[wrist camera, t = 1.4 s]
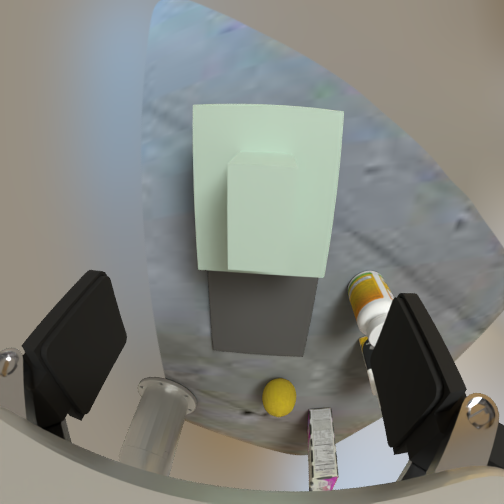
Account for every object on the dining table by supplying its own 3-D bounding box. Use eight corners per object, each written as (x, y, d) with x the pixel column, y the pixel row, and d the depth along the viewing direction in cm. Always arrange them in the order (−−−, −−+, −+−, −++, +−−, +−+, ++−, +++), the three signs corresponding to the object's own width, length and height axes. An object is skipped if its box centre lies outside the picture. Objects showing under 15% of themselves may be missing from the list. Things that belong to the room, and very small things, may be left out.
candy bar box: (328, 429, 54) (332, 491, 40) (306, 431, 55) (307, 493, 40) (332, 406, 50) (339, 477, 35) (308, 408, 50) (310, 480, 36)
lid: (321, 265, 28) (333, 320, 20) (203, 258, 28) (179, 308, 21) (338, 112, 21) (367, 110, 14) (200, 105, 22) (164, 102, 14)
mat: (302, 353, 43) (303, 356, 42) (214, 346, 44) (213, 350, 43) (321, 250, 35) (322, 253, 34) (207, 243, 35) (206, 246, 35)
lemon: (302, 378, 46) (303, 415, 39) (280, 391, 48) (279, 427, 41) (279, 364, 44) (277, 403, 37) (257, 378, 47) (253, 416, 39)
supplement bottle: (341, 299, 38) (354, 349, 29) (355, 265, 35) (375, 313, 27) (374, 305, 38) (393, 354, 29) (390, 274, 35) (415, 319, 27)
